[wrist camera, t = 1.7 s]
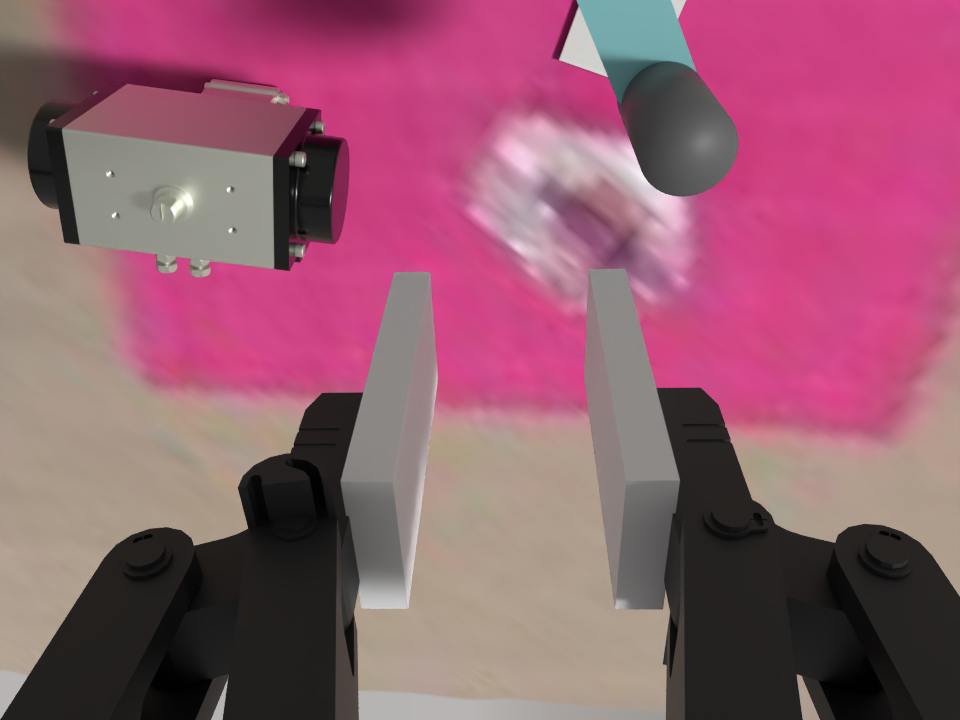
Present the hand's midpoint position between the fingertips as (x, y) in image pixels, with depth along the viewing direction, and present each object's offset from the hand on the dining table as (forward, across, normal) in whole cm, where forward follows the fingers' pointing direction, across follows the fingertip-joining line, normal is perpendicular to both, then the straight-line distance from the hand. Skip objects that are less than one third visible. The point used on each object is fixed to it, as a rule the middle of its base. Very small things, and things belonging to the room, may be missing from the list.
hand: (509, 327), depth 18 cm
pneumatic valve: (+25, -13, -3) cm, 28 cm away
